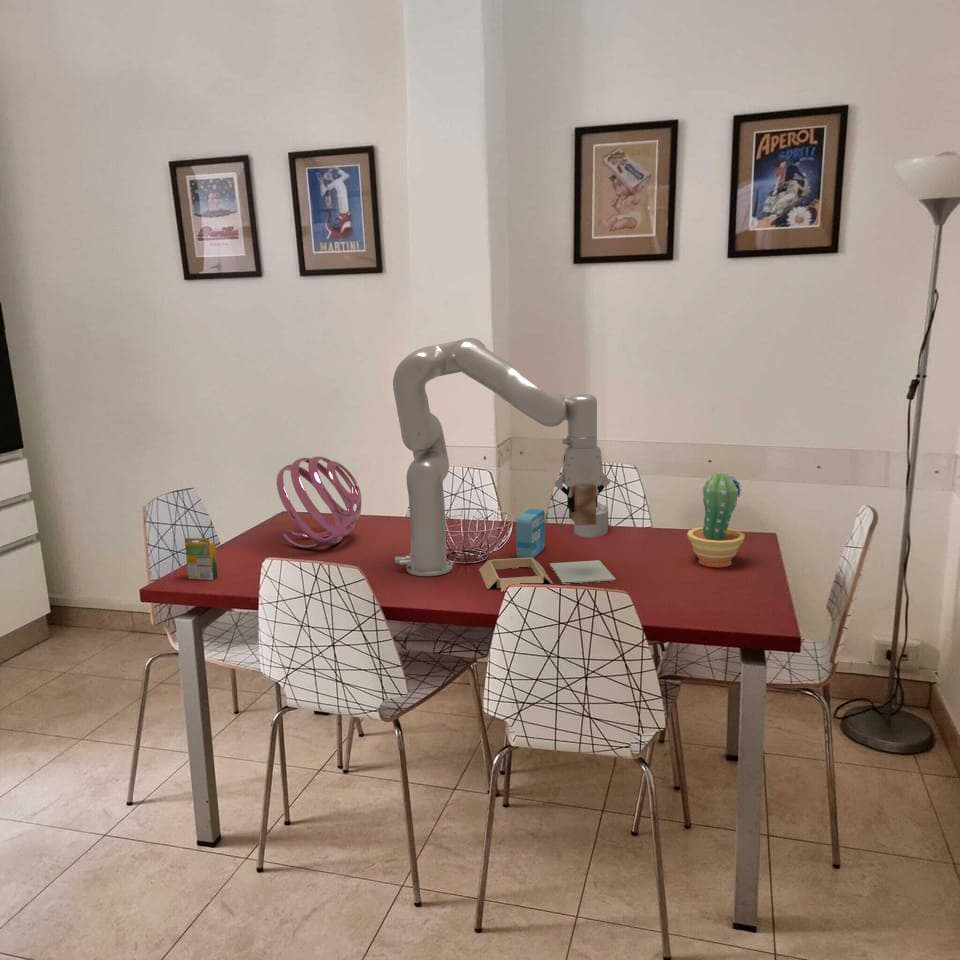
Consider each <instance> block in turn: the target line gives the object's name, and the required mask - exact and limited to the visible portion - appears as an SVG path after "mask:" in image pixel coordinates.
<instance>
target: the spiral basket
mask: <svg viewBox="0 0 960 960" xmlns="http://www.w3.org/2000/svg"><path fill="white" fill-rule="evenodd" d="M320 460H321V461H323V462H325V463H326V467H325V466H324V465H323V463H320V462H319V461H320ZM302 462H303V463H306V464H308V465H307V466H308V467H307V468H308V470H307V469H305V468H304V467H301V466H300V463H302ZM285 471H290V478H291V482H292V486H293V488H294V491H295V493H296V495H297V497H298V499H299V501H300V502H301V504H302V505H303V507H304V508H305V510H306V511H307V513H308V514H309V515H310V516H311V517H312V518H313V520H315V521H316V523H317V524H319V526H321V527H322V528H323V529H324V530H326V531H323V532H315V531H314V530H313V529H312V528H311V527H310V526H309V525H308V524H307V523H306V522H305V521H304V520H303V519H302V517H301V516H300V515H299V513H298V512H297V511H296V509H295V507H294V506H293V504H292V502H291V500H290V498H289V495H288V493H287V491H286V488H285V483H284V474H285V473H284V472H285ZM319 472H320V473H322V474H323V476H324V477H325V478H326V479H327V480H328V481H329V483H331V485H332V486H333V487H334V489H335V490H336V491H337V493H338V494H339V497H340V498H341V500H342V502H343V504H344V506H345V508H343V507H342V506H341V505H340V504H339V503H337V502H336V501H335V499H334V498H333V496H332V494H330V492H329V491H328V490H327V488H326V487H325V485H324V484H323V483H324V482H322V478H321V477H320V474H319ZM336 472H337V473H338V475H339V476H340V477H341V478H342V479H343V480H344V482H345V484H346V486H348V489H349V490H350V492H349V491H348V490H347V489H346V488H345V487H344V485H343V484H342V483H341V481H340V480H339V477H338V476H337V473H336ZM301 477H303V479H305V480H306V481H308V482H309V483H310V484H311V485H312V486H313V488H314V489H315V490H316V492H317V494H318V495H319V497H320V499H321V500H322V502H323V503H325V505H326V506H327V508H329V510H330V512H331V515H332V516H333V520H334V522H335V524H334V523H332V522H331V521H330V520H328V519H327V518H326V517H325V516H324V515H323V514H322V513H321V511H320V510H319V509H318V508H317V507H316V506H315V504H314V502H313V501H312V500H311V498H310V496H309V495H308V493H307V491H306V489H305V487H304V485H303V483H302V479H301ZM276 489H277V493H278V496H279V500H280V501H281V504H282V506H283V508H284V509H285V511H286V512H287V514H288V516H289V517H290V519H291V520H292V521H293V522H294V524H295V525H296V526H297V527H298V529H299V530H300V531H301V532H302V533H301V532H296V531H292V530H287V533H288V534H290V535H293V536H296V537H299V538H303V539H304V538H305V539H311V540H312V541H314V542H315V544H310V545H304V544H299V543H297V542H295V541H293V540H292V539H290V537H289V536H288V535H287V534H286V533H283V534H282V535H283V538H284V539H285V540H286V541H287V542H288V543H289V544H291V545H293V546H295V547H296V548H300V549H305V550H313V549H319V548H325V547H333V546H336V545H337V544H339V543H340V542H341V541H342V540H343V538H344V537H346V536H349V535H350V534H351V533H352V532H353V530H354V528H355V526H356V521H357V520H359V518H360V516H361V514H362V513H361V512H362V500H363V499H362V492H361V489H360V487H359V484H358V482H357V480H356V478H355V477H354V476H353V474H352V473H351V471H349V470H348V469H347V468H346V467H345V466H344V465H342V463H339V461H335V460H331V459H329V458H327V457H325V456H320V455H319V456H313V457H301V458H298V459H296V460H294V461H293V462H292V464H287V465H285V466H284V467H282V468H281V469H280V470H279V471H278V474H277V476H276ZM355 505H356V508H355V509H354V506H355ZM348 528H349V529H348Z"/></svg>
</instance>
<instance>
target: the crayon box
mask: <svg viewBox="0 0 960 960" xmlns="http://www.w3.org/2000/svg"><path fill="white" fill-rule="evenodd" d="M197 541H199V542H197ZM184 544H185V556H186V557H185V558H186V567H187V568H186V569H187V570H186V571H187V579H188V580H202V581H203V580H207V581H214V580H216V579H217V578H218V577H219V576H218V568H217V567H218V566H217V564H218V563H217V555H216V554H217V553H216V545H215V544H216V543H215V542H210V538H197V537H196V538H192V537H185V538H184Z"/></svg>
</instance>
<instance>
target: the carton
mask: <svg viewBox="0 0 960 960" xmlns="http://www.w3.org/2000/svg"><path fill="white" fill-rule="evenodd" d="M529 566H531V567H529ZM519 567H528V568H532V569H533V571H534V572H535V574H536V575H537V576H536V575H535V574H534V576H519V577H518V576H517V577H515V576H514V577H503V578H502V577H501V578H500V577H499V575H498V573H497V571H496V570H507V568H508V570H509V568H512V569H520V568H519ZM532 569H531V570H532ZM478 570H479V572H480V575H481V578H482V580H483V582H484V585H485V587H486V589H487V590H488V589H489V590H490V589H491V588H492V586H494V584H495V583H496V584H495V587H496V588H497V589H498V588H501V589H500V593H506V592H505V590H506V588H507V587H508V586H509V585H512V584H520V583H544V584H545V580H546V581H548V583H550V584H551V585H552V584H554V582H553V581H552V579H551V578H550V576H549V575H548V573H547V571H546V570H545V569H544V567H543V565H542V566H541V563H540V562H538V561H537V560H536V559H535V557H534V558H533V557H532V558H530V557H527V558H520V557H513V558H498V559H497V558H495V559H489V560H488V559H487V560H486V562H485V563H484V564H483V565H482V566H481V567H480V568H479V569H478ZM533 571H532V572H533ZM534 572H533V573H534ZM546 573H547V574H546ZM548 576H549V577H548ZM550 579H551V580H550ZM503 591H504V592H503Z"/></svg>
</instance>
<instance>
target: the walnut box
mask: <svg viewBox="0 0 960 960" xmlns="http://www.w3.org/2000/svg"><path fill="white" fill-rule="evenodd" d="M573 497H574V512H571V511H570V510H569V509H568V518H570V520H572V521H573V523H574V522H575V524H576V525H577V526H578V525H594V524H596V486H595V485H592V486H576V487H574V493H573Z"/></svg>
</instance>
